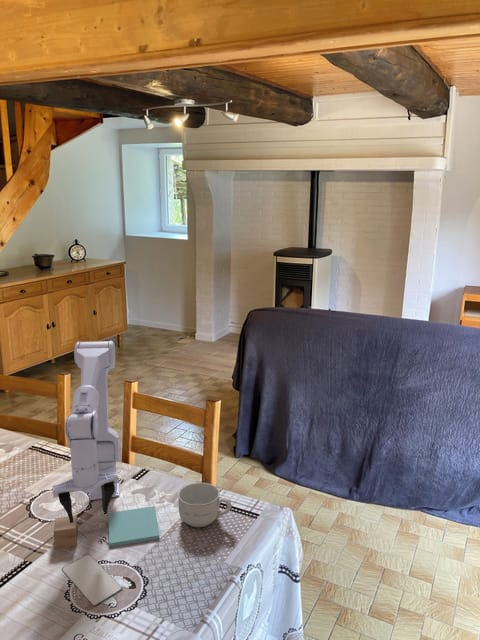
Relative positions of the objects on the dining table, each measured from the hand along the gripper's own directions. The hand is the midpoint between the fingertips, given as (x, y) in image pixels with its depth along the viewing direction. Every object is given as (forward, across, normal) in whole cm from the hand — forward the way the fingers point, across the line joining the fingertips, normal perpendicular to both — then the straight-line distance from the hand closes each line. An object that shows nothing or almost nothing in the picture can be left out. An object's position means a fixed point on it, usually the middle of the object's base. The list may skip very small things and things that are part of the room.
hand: (88, 516), depth 120 cm
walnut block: (+9, -5, +6) cm, 12 cm away
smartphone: (+10, -2, -9) cm, 14 cm away
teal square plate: (+9, +11, +4) cm, 15 cm away
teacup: (+9, +29, -2) cm, 30 cm away
